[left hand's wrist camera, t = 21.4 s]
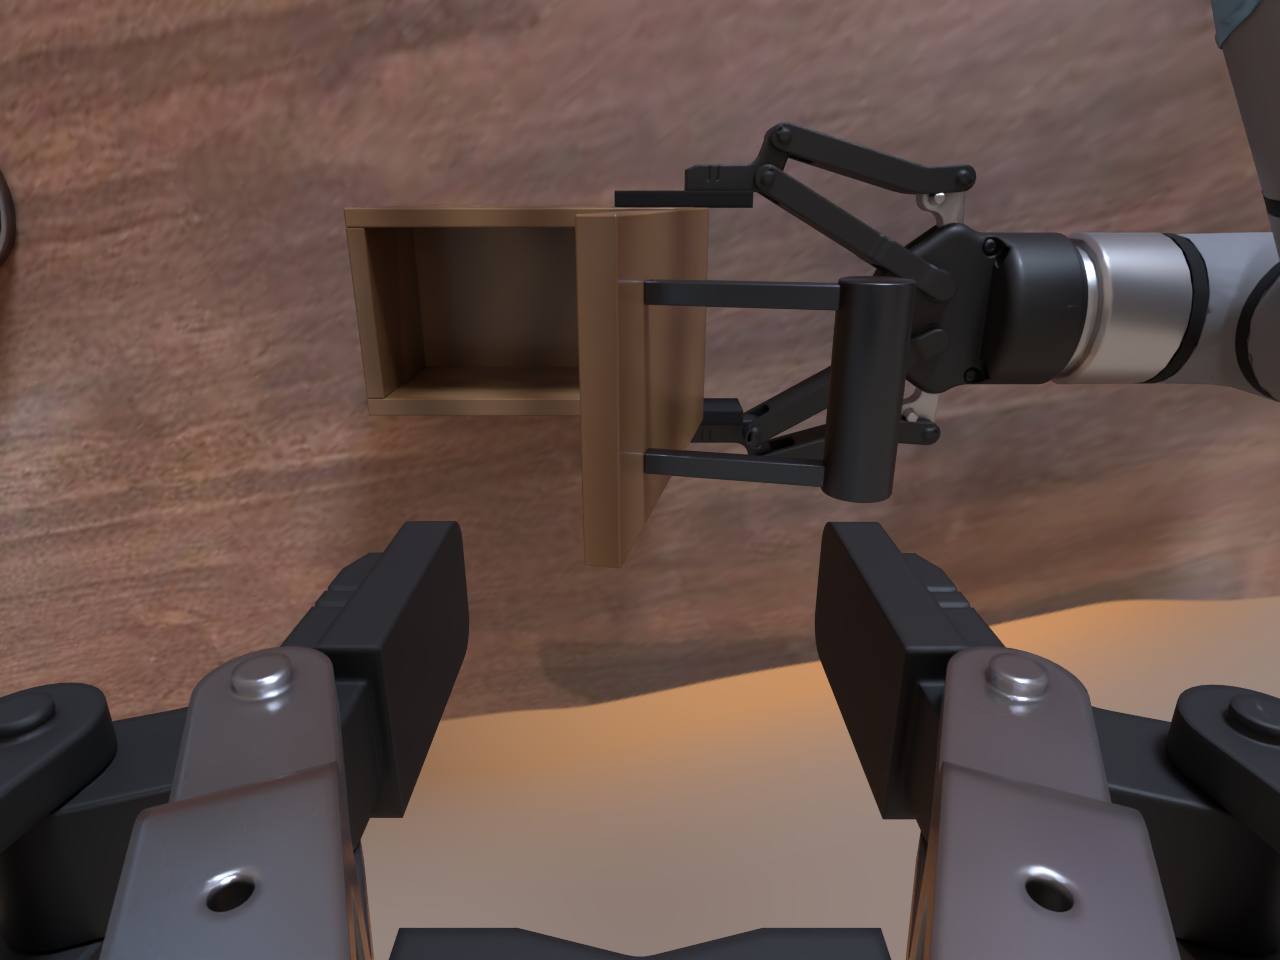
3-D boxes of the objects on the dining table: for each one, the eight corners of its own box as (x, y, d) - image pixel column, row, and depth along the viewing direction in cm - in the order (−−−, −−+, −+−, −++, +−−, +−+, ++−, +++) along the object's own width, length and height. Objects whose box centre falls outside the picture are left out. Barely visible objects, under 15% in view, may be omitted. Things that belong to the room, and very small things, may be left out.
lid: (583, 565, 23) (894, 597, 21) (573, 213, 20) (943, 215, 18) (680, 418, 38) (865, 429, 37) (684, 207, 35) (888, 207, 33)
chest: (416, 377, 47) (368, 416, 39) (399, 205, 44) (342, 207, 35) (683, 378, 47) (691, 416, 39) (686, 205, 44) (696, 207, 35)
